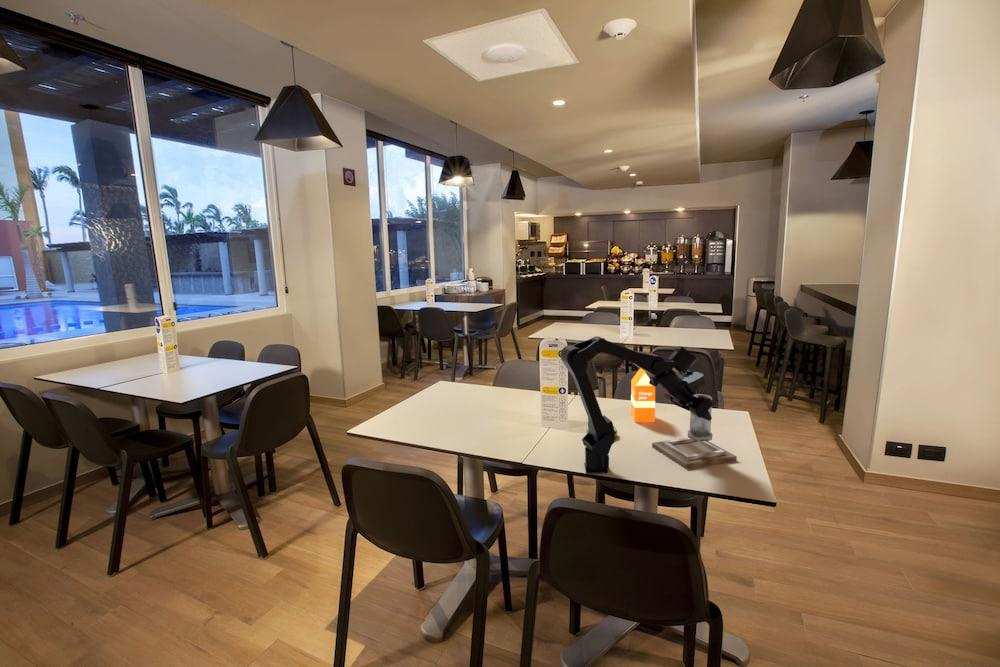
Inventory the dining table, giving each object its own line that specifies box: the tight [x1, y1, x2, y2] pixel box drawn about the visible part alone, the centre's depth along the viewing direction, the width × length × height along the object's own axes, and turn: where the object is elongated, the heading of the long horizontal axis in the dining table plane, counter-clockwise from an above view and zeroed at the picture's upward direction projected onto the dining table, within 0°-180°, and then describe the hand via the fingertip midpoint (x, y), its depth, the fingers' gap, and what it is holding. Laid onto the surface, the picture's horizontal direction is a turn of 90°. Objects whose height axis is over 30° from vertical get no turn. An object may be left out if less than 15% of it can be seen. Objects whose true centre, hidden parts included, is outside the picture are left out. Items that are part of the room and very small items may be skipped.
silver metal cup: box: [687, 393, 713, 442], centre depth 149 cm, size 7×7×13 cm
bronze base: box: [651, 437, 738, 470], centre depth 154 cm, size 18×18×2 cm
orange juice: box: [630, 368, 656, 423], centre depth 187 cm, size 8×9×20 cm
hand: (704, 416), depth 149 cm, fingers closed on silver metal cup, 6 cm apart
